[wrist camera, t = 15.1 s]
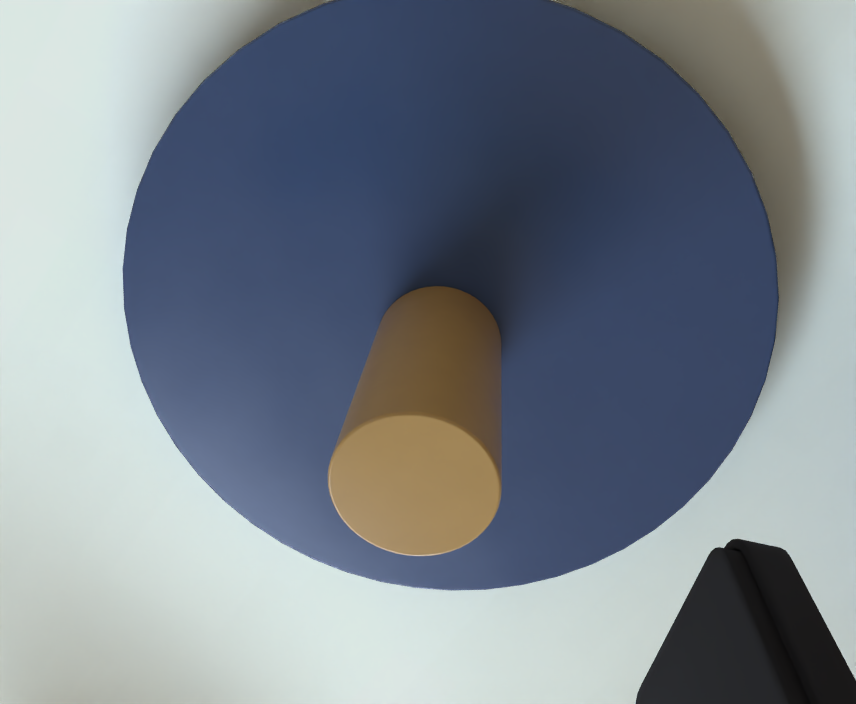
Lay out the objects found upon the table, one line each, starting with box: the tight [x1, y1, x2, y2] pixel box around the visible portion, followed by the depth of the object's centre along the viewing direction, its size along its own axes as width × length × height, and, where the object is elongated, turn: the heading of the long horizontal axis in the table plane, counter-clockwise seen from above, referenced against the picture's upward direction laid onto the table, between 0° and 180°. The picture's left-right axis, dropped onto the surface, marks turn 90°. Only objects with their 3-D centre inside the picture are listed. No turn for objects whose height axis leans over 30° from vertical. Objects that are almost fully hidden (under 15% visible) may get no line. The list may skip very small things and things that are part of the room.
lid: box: [123, 0, 779, 590], centre depth 15 cm, size 15×15×7 cm
